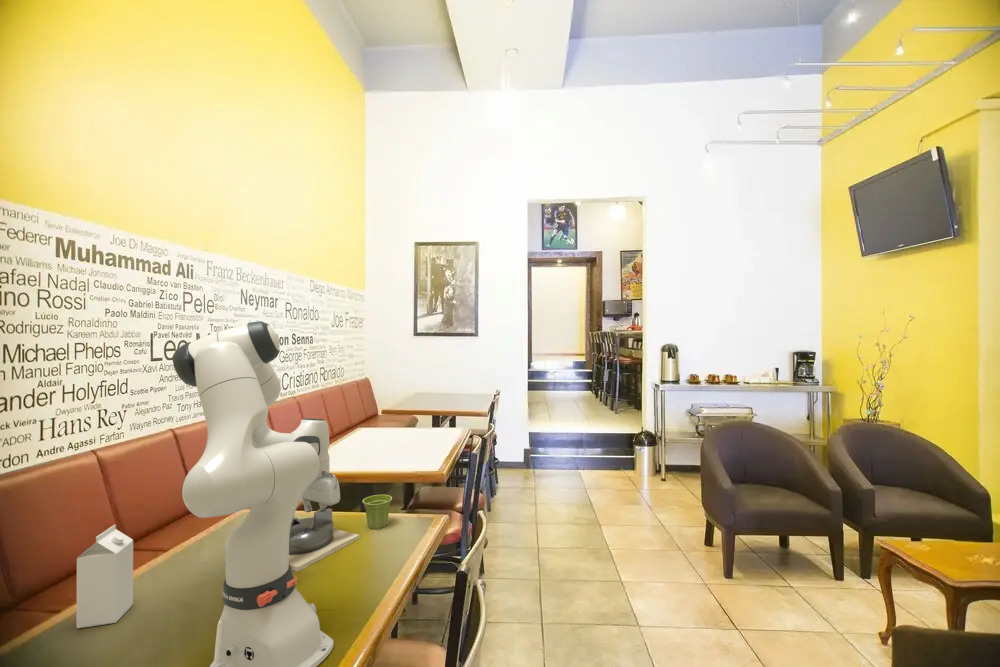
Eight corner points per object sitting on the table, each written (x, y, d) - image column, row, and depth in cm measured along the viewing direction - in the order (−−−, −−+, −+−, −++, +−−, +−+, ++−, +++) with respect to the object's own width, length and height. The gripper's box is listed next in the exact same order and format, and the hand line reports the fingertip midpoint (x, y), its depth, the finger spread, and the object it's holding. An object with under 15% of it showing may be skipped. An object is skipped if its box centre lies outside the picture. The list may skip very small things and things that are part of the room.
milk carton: (75, 629, 94) (76, 539, 94) (96, 610, 101) (96, 526, 101) (115, 623, 96) (116, 534, 96) (133, 605, 103) (133, 522, 103)
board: (359, 538, 136) (359, 534, 136) (297, 571, 117) (297, 566, 117) (310, 526, 146) (310, 522, 146) (245, 554, 127) (245, 549, 127)
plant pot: (360, 523, 148) (360, 497, 148) (389, 518, 152) (389, 492, 152) (364, 533, 140) (364, 506, 140) (394, 528, 144) (394, 501, 144)
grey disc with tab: (342, 541, 131) (342, 515, 131) (285, 560, 120) (285, 532, 120) (321, 525, 143) (320, 502, 143) (267, 541, 132) (267, 516, 132)
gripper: (345, 471, 136) (345, 516, 136) (303, 462, 146) (303, 504, 146) (327, 477, 130) (328, 524, 130) (285, 467, 141) (285, 510, 141)
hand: (314, 513), depth 138 cm, fingers open, 5 cm apart
